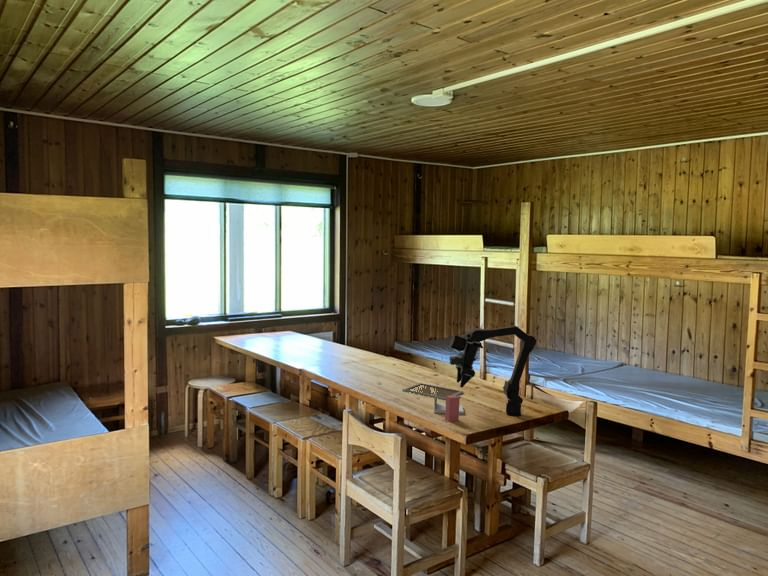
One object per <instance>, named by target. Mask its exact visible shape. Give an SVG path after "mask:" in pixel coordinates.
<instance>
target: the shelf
mask: <svg viewBox="0 0 768 576" xmlns="http://www.w3.org/2000/svg"><path fill="white" fill-rule="evenodd" d="M437 401H438V399H437V391H435V398H434V402H433V413H434V414H445V410H446V402H445V403H443V402H441V403H440V402H437ZM463 407H464V406H463V404H460V403H459V415H460V414H464V415H465V411H464V408H463Z"/></svg>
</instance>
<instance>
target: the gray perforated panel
mask: <svg viewBox="0 0 768 576" xmlns="http://www.w3.org/2000/svg"><path fill="white" fill-rule="evenodd" d="M420 385H424V388H423V387H422V390H421V388H420V390H419V387H418V386H420ZM425 386H427V387H426V389H425ZM415 387H418V390H419V392H418V390H417V392H416V391H411V390H410V389H413V388H415ZM430 387H433V388H434V391H435V388H436V391H438V392H437V398H438V399H439V400H443V401H446V396H451V395H456V396H458V397H460V398H461V395H464V391H463V390H459V389H452V388H448V387H443V386H439V385H435V384H434V385H433V384H428V383H423V382H418V383H415V384H413V385H411V386H407V387H405V388H402V392H404V391H406V392H405V393H409V392H411V393H410V394H413V393H415V395H418V394H420V395H419V396H423V395H424V396H423V397H428V396H429V397H428V398H432V397H433V398H434V399H435V394H434V392H433V393H431V390H430ZM414 390H415V389H414ZM420 391H421V392H422V391H423V392H422V393H421V392H420ZM431 394H432V395H431ZM433 394H434V395H433ZM460 394H461V395H460ZM433 398H432V399H433ZM438 399H437V400H438Z"/></svg>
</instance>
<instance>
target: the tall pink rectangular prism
mask: <svg viewBox="0 0 768 576" xmlns="http://www.w3.org/2000/svg"><path fill="white" fill-rule="evenodd" d="M460 399H461V396H460V397H458V396H456V395H451V396H446V400H445V404H446V410H445V415H444V420H445V421H447V422H459V419H460V418H459V417H460V414H459V404H460V401H461V400H460Z"/></svg>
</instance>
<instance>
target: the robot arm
mask: <svg viewBox="0 0 768 576" xmlns="http://www.w3.org/2000/svg"><path fill="white" fill-rule="evenodd" d="M511 335H515V337H516V338H518V339H519V340H520V341H519V353H518V355H517V358H516V360H515V364H514V368H513V370H512V374H511V376H510V379H509V380H504V384H503V387H502V389H503V395H505V397H506V398H507V402H506V403H505V413H506V414H507V416H515V417H516V416H517V417H521V416H522V404H523V402H524V399H523V398H522V397H521V396H520V382H521V380H522V376H523V373H524V370H525V368H526V364H527V361H528V358H529V355H530V354H531V353H532V351H533V350H534V349H535V347H536V344H537V339H536V337H535V336H533V335H532V334H530V333H526V332H525V331H524V330H522V329H520V327H519V326H517V325H514V324H512V325H510V326H501V327H495V328H481V327H480V328H477V327H475V328H474V327H473V328H471V330H470V331H469V333H467V334H466V335H465V336H460V335H458V334H455V333H454V335H453V337H452V338H451V340H450V343H449V349H452V350H455V351H459V352H462V351H464V353H461V355H460V356H459V355H455V356H454V355H453V356H449V365H450V366H451V365H452V366H455V368H456V370H457V373H456V374H457V375H456V383H457V384H459V383H460V385H459V387H460V388H463V387H464V386H465V385H466V384H467V383H469V381H470V380H471V379H473V378H474V377H475V376H476V372H475V369H474V366H473V365H474V363H475V362H476V356H477V354H478V351H479V348H480V349H484V347H483V343H482V342H484V341H486V340H488V339H491V338H498V337H504V336H506V337H507V336H511Z"/></svg>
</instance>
